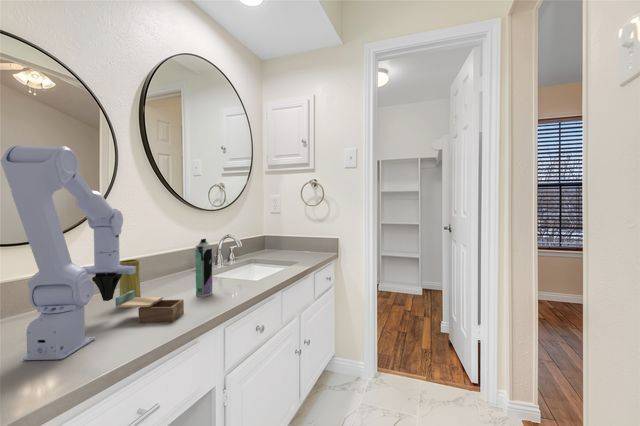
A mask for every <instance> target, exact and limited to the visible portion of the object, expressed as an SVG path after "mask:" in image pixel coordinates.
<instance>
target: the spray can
mask: <svg viewBox="0 0 640 426" xmlns="http://www.w3.org/2000/svg"><path fill="white" fill-rule="evenodd" d="M194 249H195V250H194V251H195V254H194V255H195V256H194V257H195V296H196V297H199V298H200V297H203V298H204V297H208V296H209V297H210V296H212V295H213V247H212V244H210V243H209V242H208V240H207V238H202V239H201V238H200V241H199V243H198V244H196V245H195V248H194Z"/></svg>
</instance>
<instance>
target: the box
mask: <svg viewBox="0 0 640 426" xmlns="http://www.w3.org/2000/svg"><path fill="white" fill-rule="evenodd" d="M137 308H138V324H153V323H154V324H159V323H161V324H162V323H173V322H175V321H177V319H179V317H181V316H182V315H184V312H185V310H184V309H185V305H184V299H162V300H160V301H159V302H157V303H155V304H154V305H152V306H151V307H137Z"/></svg>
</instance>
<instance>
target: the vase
mask: <svg viewBox="0 0 640 426" xmlns="http://www.w3.org/2000/svg"><path fill="white" fill-rule="evenodd" d="M120 265H122V266H136V273H134V274H122V276H121V278H120V280H119V296H121V295H123V294H125V293H127V292H130V291H135V297H142V295H141V279H140V260H139V259H138V258H136V259H132V258H131V259H122V260H120ZM126 308H127V309H129V308H130V307H126ZM126 308H125V309H126Z"/></svg>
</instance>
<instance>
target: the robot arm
mask: <svg viewBox="0 0 640 426" xmlns="http://www.w3.org/2000/svg"><path fill="white" fill-rule="evenodd" d="M0 164H1V166H2V169H3V173H4V175H5V178H6V180H7V183H8V186H9V189H10V191H11V196H12V199H13V201H14V204H15V207H16V209H17V213H18V215H19V218H20V222H21V225H22V227H23V230H24V232H25V235H26V239H27V241H28V244H29V247H30V249H31V252H32V255H33V258H34V261H35V263H36V266H37V269H38V271H37V272H36V273H35V274H33V275H32V276H31V277H30V279H29V280H28V281H27V285H28V289H29V290H28V291H29V292H28V300H29V303H30V305H31V306H32V307H33V308H36V312H37V313H40V314H39V316H38V317H37V318H35V319H34V320H32V321H31V322H30V323H29V324H28V326H27V328H26V356H24V357H22V360H23V361H40V360H41V361H43V360H44V361H46V360H48V361H49V360H51V361H52V360H63V359H64V358H66V357H68V356H70V355H72V354H73V353H74V352H76V351H78V350H79V349H81V348H83V347H84V346H86V345H87V344H90V343H91V342H92V341H94V340H95V339H96V336H86V322H85V321H86V320H85V319H86V318H85V317H86V316H85V315H86V314H85V306H86V305H89V304H88V303H90V301H92V298H93V296H94V293H95V285H96V287H97V289H98V291H99V293H100V296H101V298H102V301H103V302H109V301H110V300H112V299H114V294H115V290H116V288H117V285H118V283H119V282H120V278H121V276H122V274H134V273H136V266H122V265H120V261H121V260H120V235H121V234H122V226H123V224H124V217H123V214H122V213H123V212H122V211H121V210H119V209H118V208H113V207H112V206H111V204H109V202H108V201H107V200H106V199H105V197H104V196H103V194H101V193H100V192H99V191H97V190H92V189H91V187H90V186H89V184H87V182H86V180H85V179H84V177H83V176H82V174H81V172H80V171H79V169H80V161H79V158H77V155H76V154H75V153H74V151H73V150H72V149H71V148H70V147H67V146H23V145H12V146H9V147H8V148H7V149H6V151H5V152H4V154H3V156H2V157H1V159H0ZM63 188H64V189H65V190H66V191H67V192H68V193H70V194H71V195H72V196H73V197H75V201H74V202H75V206H77V208H78V209H79V210H80V211H81V212H82V213H83V214H84V215H85V218H86V220H87V223H88V226H89V228H91V229H93V253H94V254H93V256H94V257H93V260H94V261H93V262H94V263H93V264H94V265H93V266H79V265H77V264H75V263H74V262H72V258H71V255H70V252H69V249H68V245H67V242H66V239H65V236H64V231H63V227H62V225H61V222H60V219H59V215H58V213H57V209H56V205H55V203H54V199H53V195H54V193H56V192H57V191H59V190H62V189H63ZM89 275H94V276H93V277H92V278H91V277H90V276H89Z"/></svg>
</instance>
